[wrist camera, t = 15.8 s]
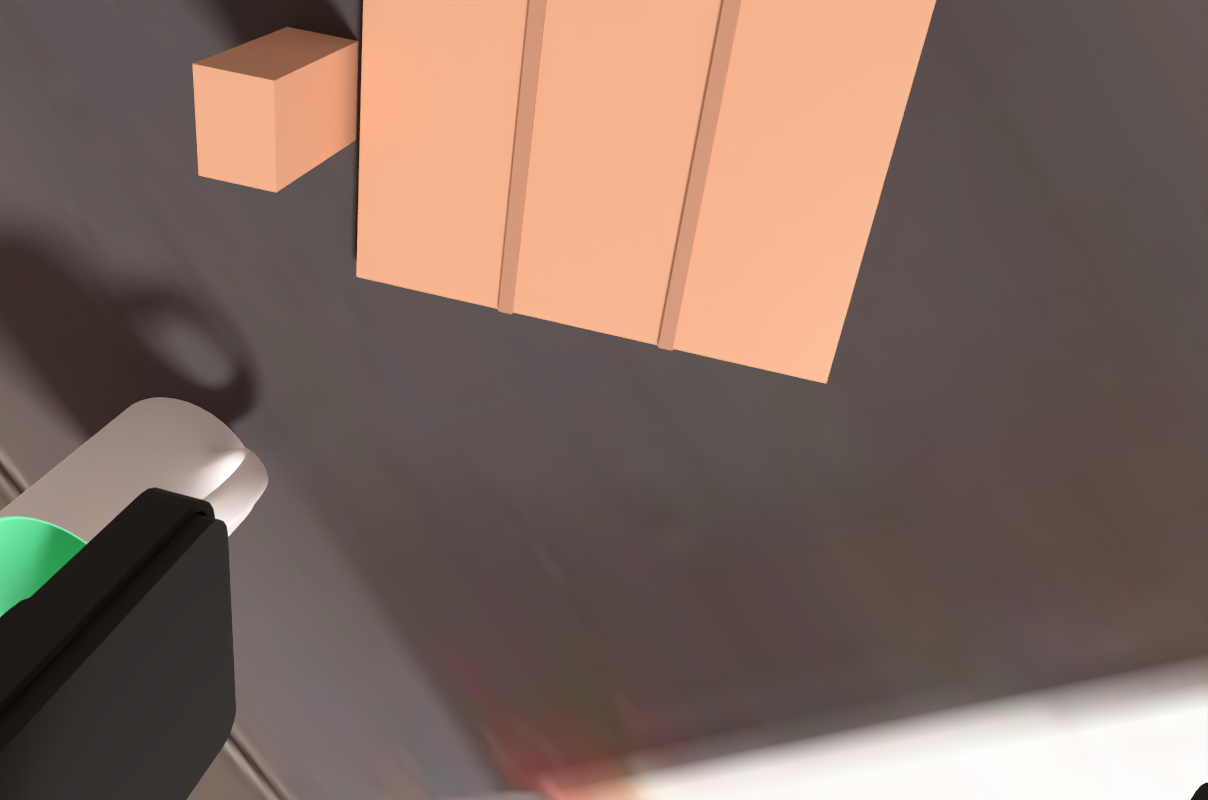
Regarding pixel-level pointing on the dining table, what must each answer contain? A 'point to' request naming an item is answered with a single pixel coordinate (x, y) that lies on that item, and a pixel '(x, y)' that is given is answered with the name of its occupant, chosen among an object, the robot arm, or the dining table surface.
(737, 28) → the lid
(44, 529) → the mug
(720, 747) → the dining table surface
